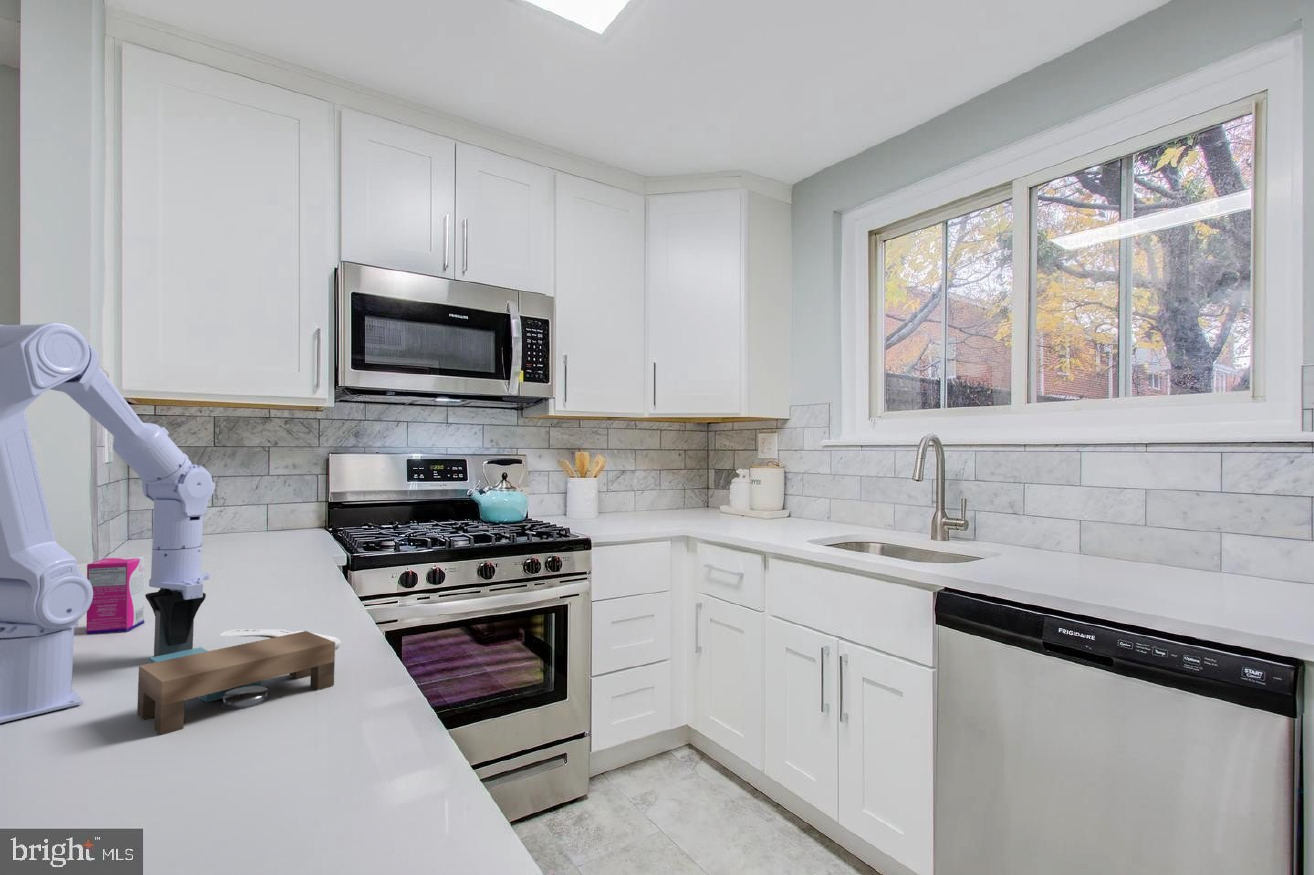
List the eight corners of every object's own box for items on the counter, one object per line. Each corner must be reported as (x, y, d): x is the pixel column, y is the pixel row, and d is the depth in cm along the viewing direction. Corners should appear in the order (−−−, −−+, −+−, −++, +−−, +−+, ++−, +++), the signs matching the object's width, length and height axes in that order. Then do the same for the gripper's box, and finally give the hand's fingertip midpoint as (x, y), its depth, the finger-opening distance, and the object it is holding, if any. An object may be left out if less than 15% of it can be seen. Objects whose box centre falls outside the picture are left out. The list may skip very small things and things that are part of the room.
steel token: (239, 713, 71) (240, 703, 71) (213, 705, 73) (214, 695, 73) (276, 700, 76) (276, 690, 76) (250, 693, 77) (251, 683, 77)
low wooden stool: (160, 734, 65) (162, 682, 66) (137, 714, 70) (138, 665, 70) (333, 685, 80) (335, 642, 80) (304, 671, 85) (306, 630, 85)
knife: (187, 627, 103) (238, 616, 110) (187, 637, 103) (238, 625, 110) (292, 651, 88) (343, 637, 95) (292, 663, 88) (343, 648, 95)
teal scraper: (206, 702, 74) (208, 642, 74) (144, 661, 87) (146, 611, 88) (262, 687, 79) (263, 631, 79) (195, 651, 92) (197, 603, 92)
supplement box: (103, 625, 105) (105, 557, 106) (145, 622, 107) (147, 556, 107) (83, 634, 100) (86, 562, 100) (128, 632, 101) (130, 561, 102)
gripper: (229, 549, 89) (226, 645, 88) (192, 539, 97) (189, 627, 97) (168, 555, 83) (164, 657, 83) (135, 544, 92) (131, 637, 91)
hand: (174, 642), depth 89 cm, fingers closed on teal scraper
